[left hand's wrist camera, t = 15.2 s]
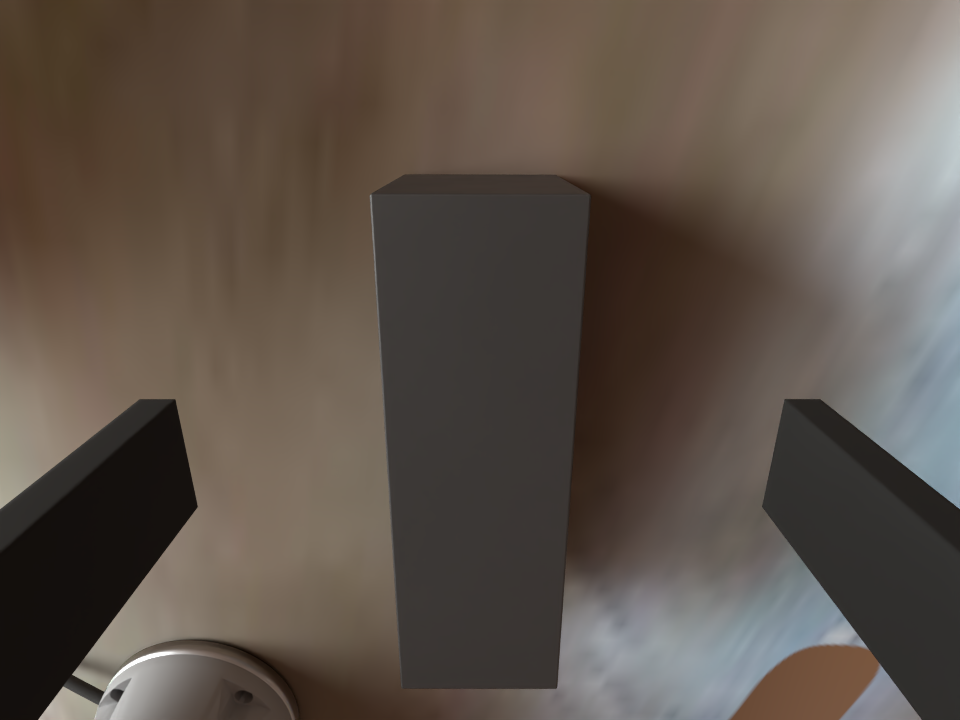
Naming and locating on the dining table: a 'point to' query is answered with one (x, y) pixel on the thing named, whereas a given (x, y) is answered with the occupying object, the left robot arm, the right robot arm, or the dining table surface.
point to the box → (479, 418)
